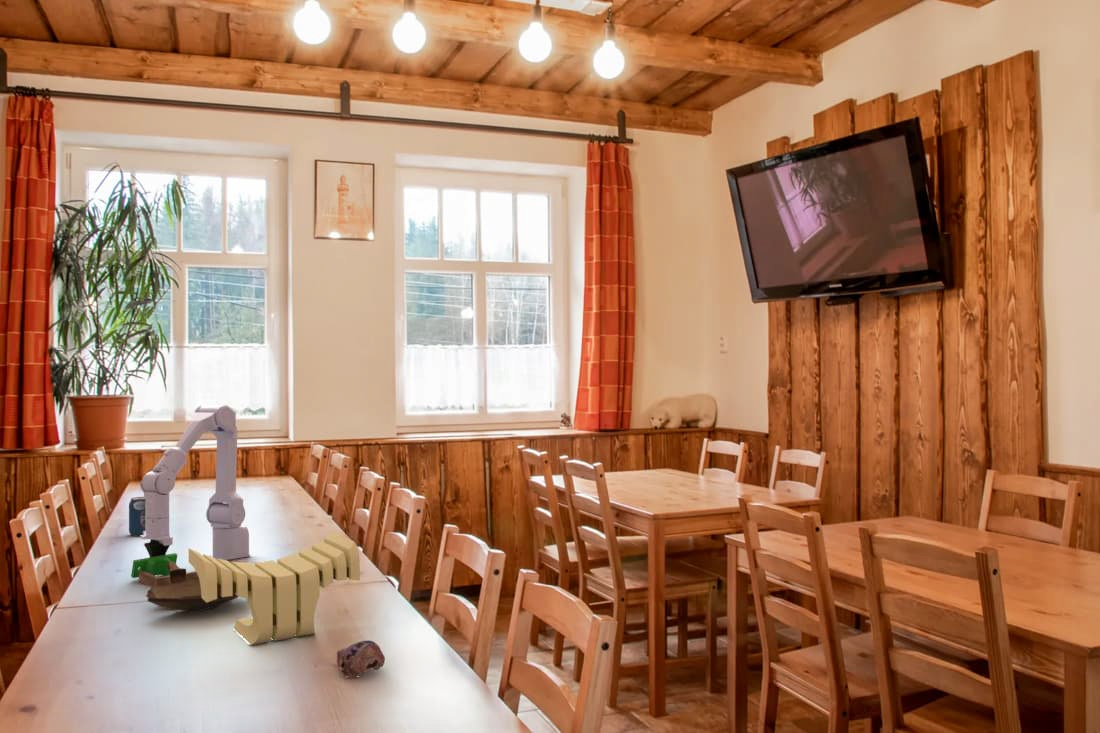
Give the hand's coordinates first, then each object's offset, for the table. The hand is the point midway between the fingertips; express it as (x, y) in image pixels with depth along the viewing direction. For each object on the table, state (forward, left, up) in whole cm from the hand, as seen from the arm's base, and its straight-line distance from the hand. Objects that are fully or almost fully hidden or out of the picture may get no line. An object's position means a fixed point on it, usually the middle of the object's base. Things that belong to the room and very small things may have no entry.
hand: (157, 569), depth 231 cm
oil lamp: (+5, +37, -2) cm, 37 cm away
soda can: (-19, -62, -2) cm, 65 cm away
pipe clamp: (+1, +2, -1) cm, 3 cm away
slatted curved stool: (+4, +70, -2) cm, 70 cm away
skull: (+5, +101, -2) cm, 101 cm away
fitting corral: (-3, +9, -2) cm, 10 cm away
